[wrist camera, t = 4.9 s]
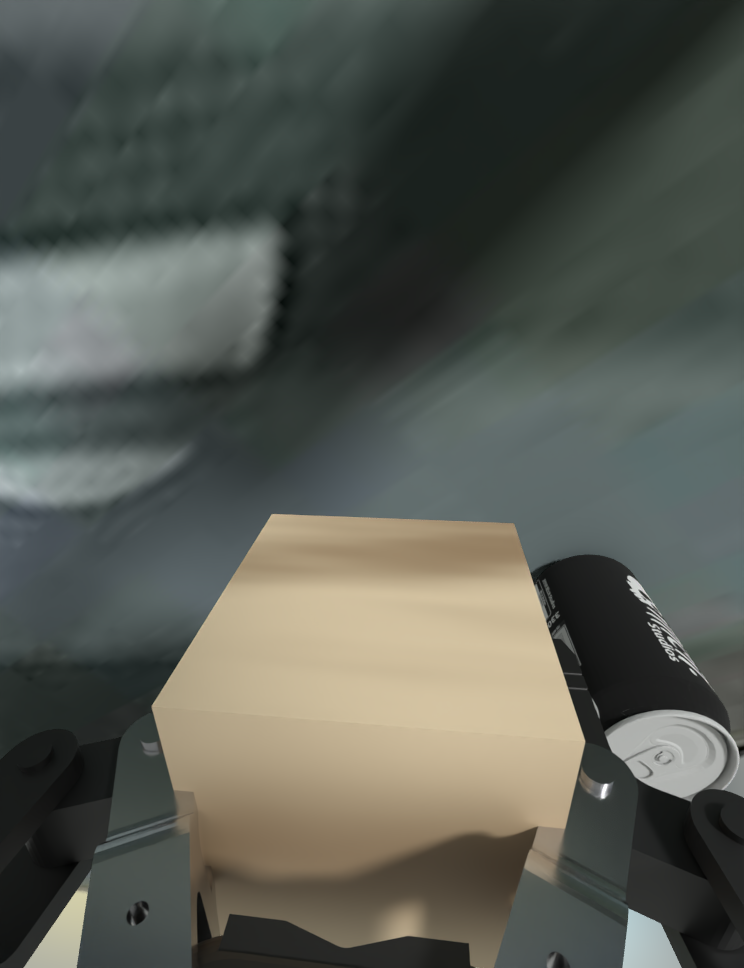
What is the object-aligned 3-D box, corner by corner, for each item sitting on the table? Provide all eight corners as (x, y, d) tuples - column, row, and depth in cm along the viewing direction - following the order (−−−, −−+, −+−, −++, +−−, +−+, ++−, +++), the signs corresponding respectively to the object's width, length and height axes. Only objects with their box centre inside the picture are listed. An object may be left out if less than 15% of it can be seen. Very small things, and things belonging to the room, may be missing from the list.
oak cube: (272, 514, 13) (150, 707, 7) (513, 523, 12) (585, 741, 6) (290, 689, 15) (211, 934, 10) (492, 704, 14) (530, 974, 9)
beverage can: (657, 594, 31) (786, 774, 20) (570, 650, 33) (643, 838, 22) (589, 527, 29) (687, 679, 18) (504, 590, 32) (546, 759, 21)
